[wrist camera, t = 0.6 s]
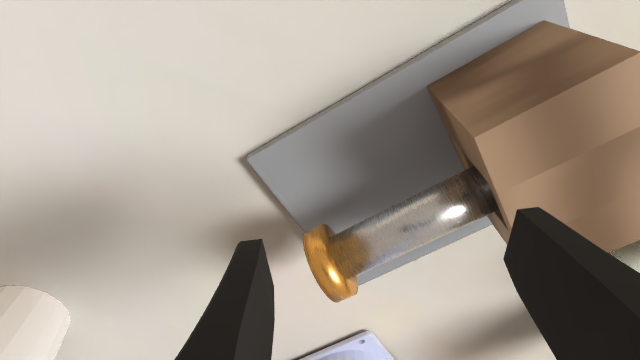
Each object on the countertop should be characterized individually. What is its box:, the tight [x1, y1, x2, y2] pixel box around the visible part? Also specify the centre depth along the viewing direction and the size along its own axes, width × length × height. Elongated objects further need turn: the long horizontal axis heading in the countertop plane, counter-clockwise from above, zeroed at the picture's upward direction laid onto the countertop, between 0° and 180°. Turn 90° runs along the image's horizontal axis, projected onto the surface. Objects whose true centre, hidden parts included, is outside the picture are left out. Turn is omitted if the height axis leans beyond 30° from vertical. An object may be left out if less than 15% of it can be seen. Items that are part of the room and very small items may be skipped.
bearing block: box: [427, 20, 640, 253], centre depth 19 cm, size 6×9×6 cm, turn 31°
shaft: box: [303, 166, 500, 302], centre depth 20 cm, size 10×4×4 cm, turn 121°
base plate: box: [247, 0, 570, 286], centre depth 23 cm, size 17×12×1 cm
